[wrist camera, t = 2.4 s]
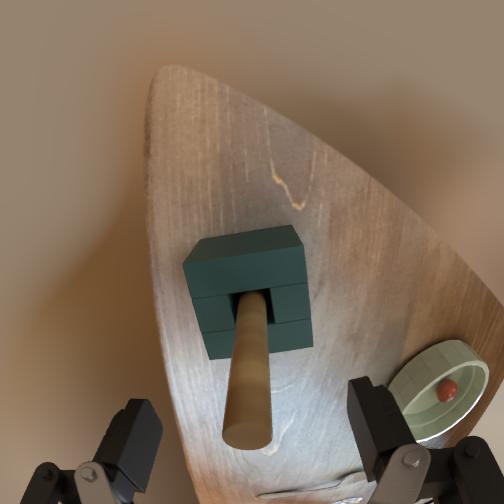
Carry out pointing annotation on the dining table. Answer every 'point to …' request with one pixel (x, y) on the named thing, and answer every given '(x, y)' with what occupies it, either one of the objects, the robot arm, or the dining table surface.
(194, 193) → the dining table surface
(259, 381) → the stick
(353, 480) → the spoon
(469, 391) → the bowl
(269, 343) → the holder
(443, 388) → the ball
